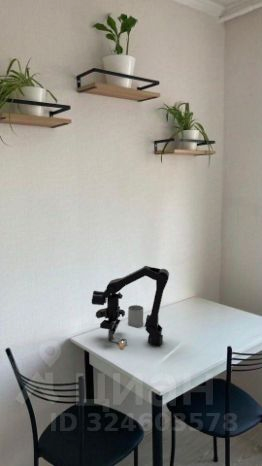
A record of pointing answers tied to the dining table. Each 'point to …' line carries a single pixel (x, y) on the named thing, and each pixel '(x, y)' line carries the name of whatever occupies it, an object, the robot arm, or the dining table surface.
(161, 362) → the dining table surface
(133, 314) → the cup
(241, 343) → the dining table surface
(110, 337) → the crank
